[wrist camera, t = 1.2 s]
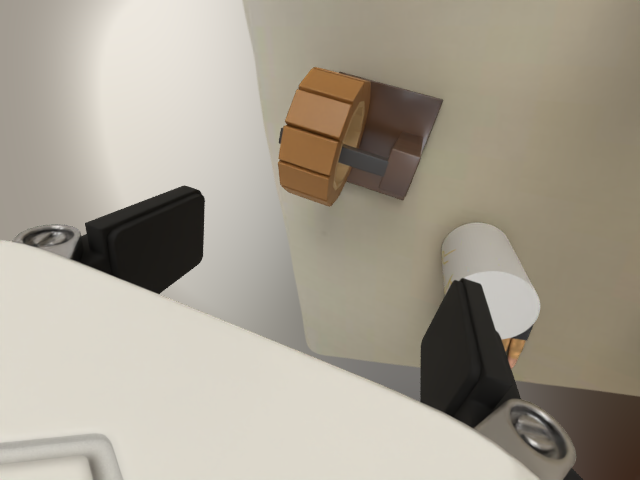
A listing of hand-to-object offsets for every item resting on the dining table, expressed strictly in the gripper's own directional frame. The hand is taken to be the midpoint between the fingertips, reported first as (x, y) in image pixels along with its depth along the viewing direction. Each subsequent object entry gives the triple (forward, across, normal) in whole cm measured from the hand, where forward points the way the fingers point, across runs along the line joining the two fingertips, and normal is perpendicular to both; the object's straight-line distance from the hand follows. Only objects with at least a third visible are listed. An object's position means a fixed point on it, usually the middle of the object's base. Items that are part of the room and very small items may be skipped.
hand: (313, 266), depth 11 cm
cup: (+31, -15, +10) cm, 36 cm away
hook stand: (+31, +2, 0) cm, 31 cm away
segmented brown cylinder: (+22, +6, 0) cm, 22 cm away
